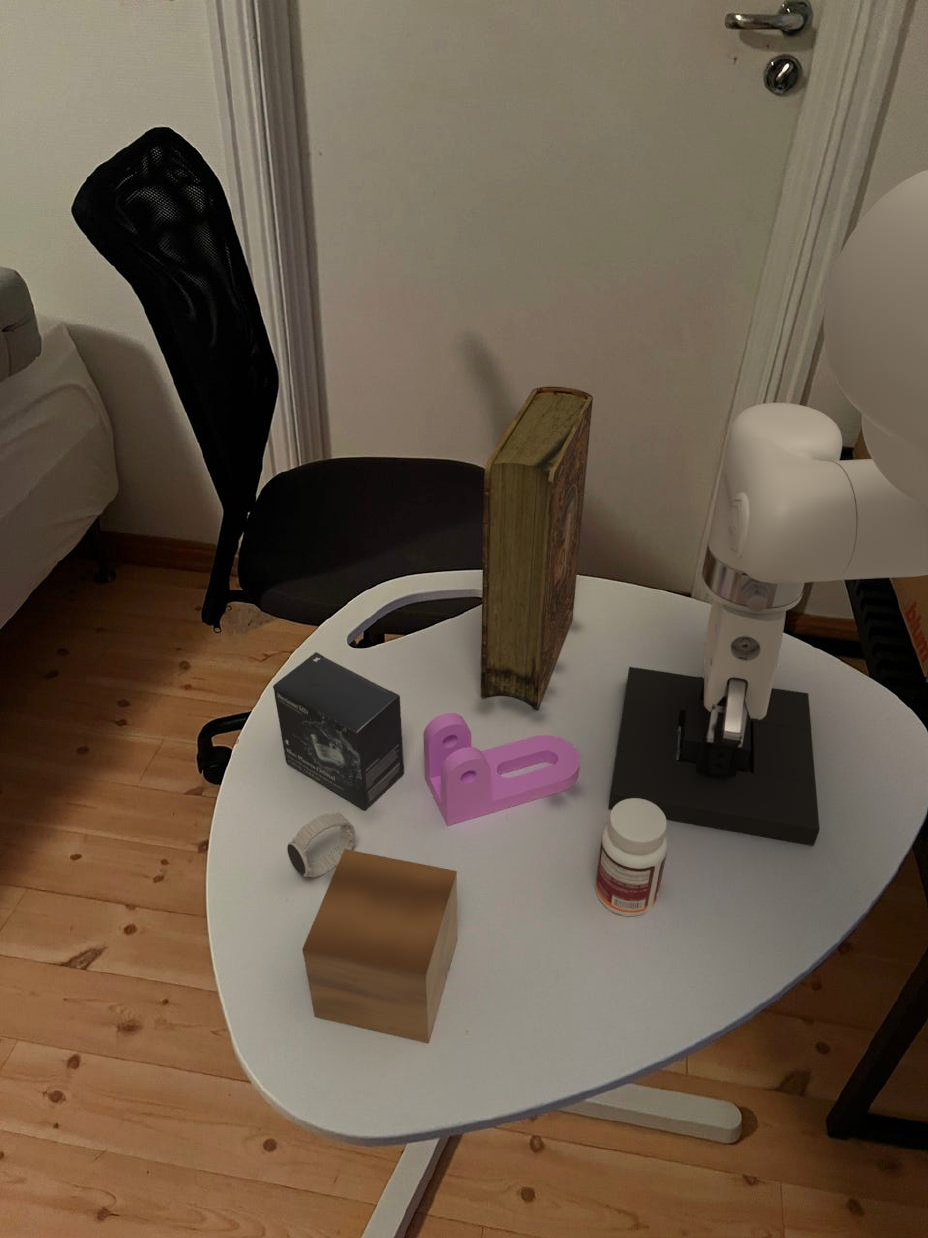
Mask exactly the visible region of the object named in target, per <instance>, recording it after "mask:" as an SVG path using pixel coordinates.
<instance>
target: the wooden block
mask: <svg viewBox="0 0 928 1238" xmlns="http://www.w3.org/2000/svg"><path fill="white" fill-rule="evenodd" d="M457 873H458V871H457V870H453V869H449V868H444V867H438V866H434V865H429V864H423V863H418V862H414V861H407V860H404V859H397V858H393V857H387V856H383V855H382V856H381V855H378V854H373V853H367V852H362V851H356V850H353V849H352V850H347V849H344V851H343V853H342V856H341V858H340V861H339V863H338V865H337V866H336V867H335V870H334V873H333V875H332V877H331V880H330V882H329V884H328V887H327V890H326V891H325V894H324V896H323V899H322V901H321V904H320V906H319V909H318V911H317V913H316V915H315V918H314V920H313V922H312V925H311V927H310V930H309V932H308V935H307V937H306V939H305V941H304V944H303V946H302V955H303V960H304V965H305V966H304V967H305V970H306V971H305V972H306V977H307V983H308V987H309V993H310V999H311V1004H312V1010H313V1015H314V1018H317V1019H321V1020H326V1021H331V1022H334V1023H338V1024H339V1023H340V1024H342V1025H343V1024H344V1025H347V1026H352V1027H357V1028H361V1029H366V1030H368V1031H369V1030H370V1031H374V1032H379V1033H383V1034H387V1035H391V1036H395V1037H399V1038H404V1039H407V1040H408V1039H409V1040H412V1041H416V1042H421V1043H425V1044H429V1043H430V1041H431V1037H432V1033H433V1031H434V1026H435V1022H436V1019H437V1016H438V1015H437V1014H438V1012H439V1007H440V1005H441V1001H442V998H443V997H442V996H443V993H444V990H445V985H446V982H447V979H448V975H449V972H450V968H451V964H452V960H453V957H454V953H455V949H456V945H457V943H458V876H457V875H458V874H457Z"/></svg>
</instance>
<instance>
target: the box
mask: <svg viewBox="0 0 928 1238" xmlns="http://www.w3.org/2000/svg"><path fill="white" fill-rule="evenodd" d="M272 688H273V693H274V700H275V701H274V702H275V705H276V711H277V718H278V723H279V730H280V734H281V735H280V736H281V740H282V747H283V751H284V759H285V762H286V764H287V765H289V766H291V767H292V768H294V769H295V770H297V771H299V772H301V773H302V774H304V775H305V776H307V777H309V778H311V780H314V781H315V782H317V783H318V784H320V785H322V786H324V787H325V788H327V789H328V790H330V791H332V792H333V793H334V794H337V795H338V796H340V797H342V798H343V799H346V800H347V801H348V802H350V803H352V804H353V805H355V806H357V807H358V808H359V809H361V810H363V811H366V810H367V809H368V808H369V807H371V806H372V805H373V804H374V803H375V802H377V800H378V799H379V798H380V797H381V796H382V795H383V794H384V793H386V791H387V790H389V788H390V787H391V786H392V785H394V784H395V783H396V782H397V781H398V780H399V779H401V777H403V776H404V774H405V765H404V748H403V746H404V745H403V734H402V731H403V730H402V714H401V712H402V709H401V708H402V707H401V695H400V694H398V693H396V692H394V691H393V690H390V689H388V688H385V687H383V686H382V685H379V684H378V683H376V682H373V681H371V680H370V679H369V678H366V677H364V676H362V675H360V674H358V673H356V672H354V671H352V670H351V669H348V668H346V667H345V666H342V665H341V664H338V663H337V662H335V661H333V660H331V659H329V658H327V657H325V655H322V654H320V653H319V652H317V651H316V652H314V653H313V654H312V655H310V656H308V658H306V659H305V660H304V661H302V663H300V664H299V665H298V666H296V667H295V668H294V669H292V670H291V671H290V672H288V673H287V674H286V675H284V676H283V677H282V678H281V679H279V680H278V681H277V682H276V683H274V684H273V686H272Z"/></svg>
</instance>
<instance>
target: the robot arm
mask: <svg viewBox="0 0 928 1238" xmlns="http://www.w3.org/2000/svg"><path fill="white" fill-rule="evenodd" d="M823 311H824V313H823V323H822V324H823V338H824V339H823V340H824V348H825V353H826V356H827V361H828V365H829V368H830V371H831V373H832V375H833V377H834V379H835V381H836V384H837V386H838V387H839V388H840V390H841V392H843V394H844V395H845V397H846V398H847V400H848V401H849V403H850V404H851V405H852V406H853V407H854V408H855V409H856V410H857V411H858V412H859V413H860V414H861V429H862V430H861V431H862V434H863V435H862V437H863V439H864V440H863V441H864V443H865V447H866V449H867V452H868V454H869V456H870V458H865V459H845V460H843V459H842V460H840V459H841V454H842V450H843V436H842V431H841V430H840V427H839V426H838V424H837V423H836V422H835V421H834V420H833V418H831V417H829V416H828V415H827V414H825V413H824V412H821V411H820V410H818V409H815V408H812V407H809V406H806V405H801V404H796V403H789V402H765V403H759V404H756V405H752V406H750V407H748V408H746V409H744V410H743V411H741V412H740V413H739V414H738V415H737V416H736V417H735V418H734V420H733V421H732V422H731V425H730V427H729V430H728V434H727V437H726V443H725V447H724V453H723V458H722V464H721V470H720V475H719V481H718V486H717V491H716V497H715V503H714V508H713V512H712V513H713V514H712V519H711V524H710V529H709V535H708V539H707V544H706V549H705V555H704V559H703V564H702V571H701V576H700V582H701V586H702V588H703V589H704V591H705V592H706V593H707V595H708V596H710V597H711V598H712V600H711V605H710V611H709V616H708V622H707V629H706V637H705V638H706V639H705V648H704V667H703V678H704V679H703V683H702V688H701V693H700V700H704V706H705V707H706V709H707V710H708V711H709V712H710V717H709V723H708V730H707V733H703V736H702V741H701V746H700V750H699V755H698V759H697V765H696V770H697V771H698V772H701V773H707V774H713V775H719V776H725V777H735V776H736V773H737V769H738V765H739V761H740V757H741V753H742V750H743V746H744V732H745V726H746V719H747V714H748V712H749V715H750V718H754V719H758V720H761V719H762V718H764V717H765V716H766V713H767V708H768V704H769V699H770V694H771V690H772V688H773V684H774V680H775V675H776V672H777V671H776V670H777V667H778V661H779V656H780V652H781V646H782V642H783V635H784V629H785V624H786V623H785V622H786V615H787V611H789V610H791V609H793V608H794V607H796V606H797V605H798V604H799V603H800V601H801V600H802V597H803V595H804V591H805V587H806V585H807V583H823V582H833V581H847V580H848V581H851V580H868V579H889V578H890V579H893V578H896V579H897V578H913V577H922V576H928V169H926V170H923V171H920V172H918V173H916V174H914V175H912V176H910V177H909V178H907V179H905V180H903V181H901V182H899V183H898V184H897V185H896V186H894V187H893V188H891V189H890V190H889V191H888V192H886V193H885V194H884V195H882V196H881V197H880V198H879V199H878V200H877V202H876V203H875V204H873V206H872V207H871V208H870V209H869V210H868V211H867V212H866V213H865V214H864V216H863V217H861V219H860V221H859V222H858V224H857V225H856V226H855V228H854V229H853V230H852V232H851V233H850V235H849V236H848V238H847V240H846V242H845V244H844V246H843V248H842V250H841V252H840V254H839V256H838V257H837V260H836V263H835V265H834V269H833V270H832V274H831V276H830V280H829V284H828V288H827V292H826V297H825V301H824V310H823ZM718 702H719V703H725V705H723V704H717V703H718ZM718 713H722V714H724V722H723V726H722V729H716V723H717V717H718Z"/></svg>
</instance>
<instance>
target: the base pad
mask: <svg viewBox="0 0 928 1238" xmlns="http://www.w3.org/2000/svg"><path fill="white" fill-rule="evenodd" d="M703 679H704V677H702V676H695V675H688V674H683V673H674V672H669V671H668V672H667V671H662V670H656V669H655V670H654V669H649V668H641V667H634V666H629V667H628V674H627V679H626V688H625V694H624V699H623V700H624V701H623V708H622V713H621V720H620V727H619V734H618V741H617V748H616V754H615V760H614V768H613V775H612V781H611V788H610V795H609V801H608V807H607V808H608V810H610V811H612V809H613V807H614V806H615V805H616V804H617V803H619V802H620V801H622V800H625V799H630V798H640V799H644V800H647V801H650V802H652V803H654V804H655V805H657V806H658V807H659V808H660V809H661V810H662V812H663V813H664V815H665V817H666V821H672V822H677V823H683V824H689V825H695V826H698V827H699V826H701V827H705V828H710V829H717V830H721V831H722V830H723V831H728V832H734V833H740V834H746V835H751V836H756V837H762V838H768V839H773V840H780V841H785V842H790V843H796V844H802V845H805V846H806V845H807V846H812V847H813V846H815V844H816V840H817V838H818V835H819V832H820V819H819V810H818V809H819V808H818V807H819V806H818V795H817V783H816V774H815V773H816V772H815V770H816V769H815V761H814V759H815V758H814V747H813V735H812V723H811V711H810V709H811V708H810V698H809V696H810V695H809V692H801V691H795V690H788V689H781V688H775V687H772V690H771V694H770V699H769V704H768V708H767V713H766V716H765V717H764V718H762V719H761V720H758V719H754V718H750V728H751V751H750V755H749V759H748V771H745V772H743V771H737V773H736V776H735V777H725V776H719V775H713V774H707V773H701V772H698V771H697V770H696V765H697V764H695V763H688V762H682V761H679V760H677V752H678V741H679V740H678V738H679V728H680V727H682V724H683V719H684V714H685V709H686V704H687V699H688V698H693V699H699V700H700V693H701V688H702V683H703Z"/></svg>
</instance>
